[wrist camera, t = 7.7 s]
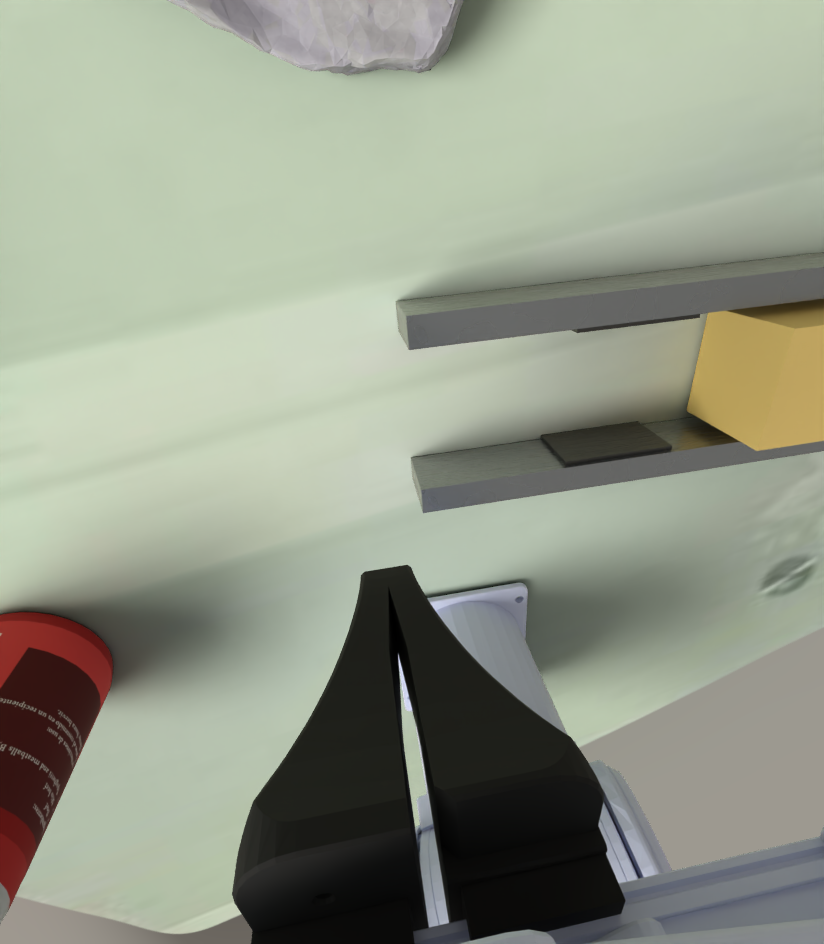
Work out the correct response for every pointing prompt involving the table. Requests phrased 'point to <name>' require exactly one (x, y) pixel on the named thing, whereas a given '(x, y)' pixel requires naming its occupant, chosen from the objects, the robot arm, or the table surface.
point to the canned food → (42, 727)
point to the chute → (581, 310)
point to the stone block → (339, 30)
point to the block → (763, 374)
